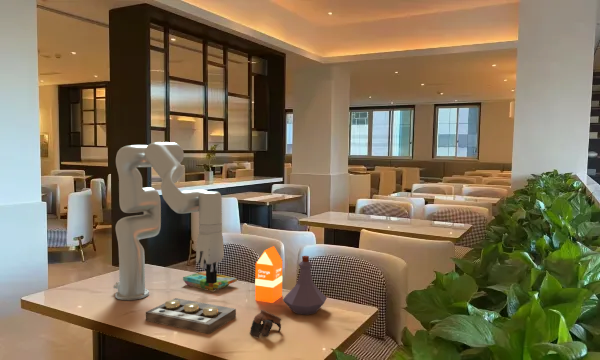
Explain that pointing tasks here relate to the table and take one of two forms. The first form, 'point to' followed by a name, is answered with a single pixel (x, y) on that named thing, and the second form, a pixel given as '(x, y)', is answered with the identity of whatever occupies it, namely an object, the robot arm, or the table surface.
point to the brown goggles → (264, 324)
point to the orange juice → (268, 276)
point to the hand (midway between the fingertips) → (211, 282)
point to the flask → (305, 292)
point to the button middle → (191, 308)
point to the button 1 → (172, 305)
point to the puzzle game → (200, 282)
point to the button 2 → (210, 312)
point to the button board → (191, 317)
